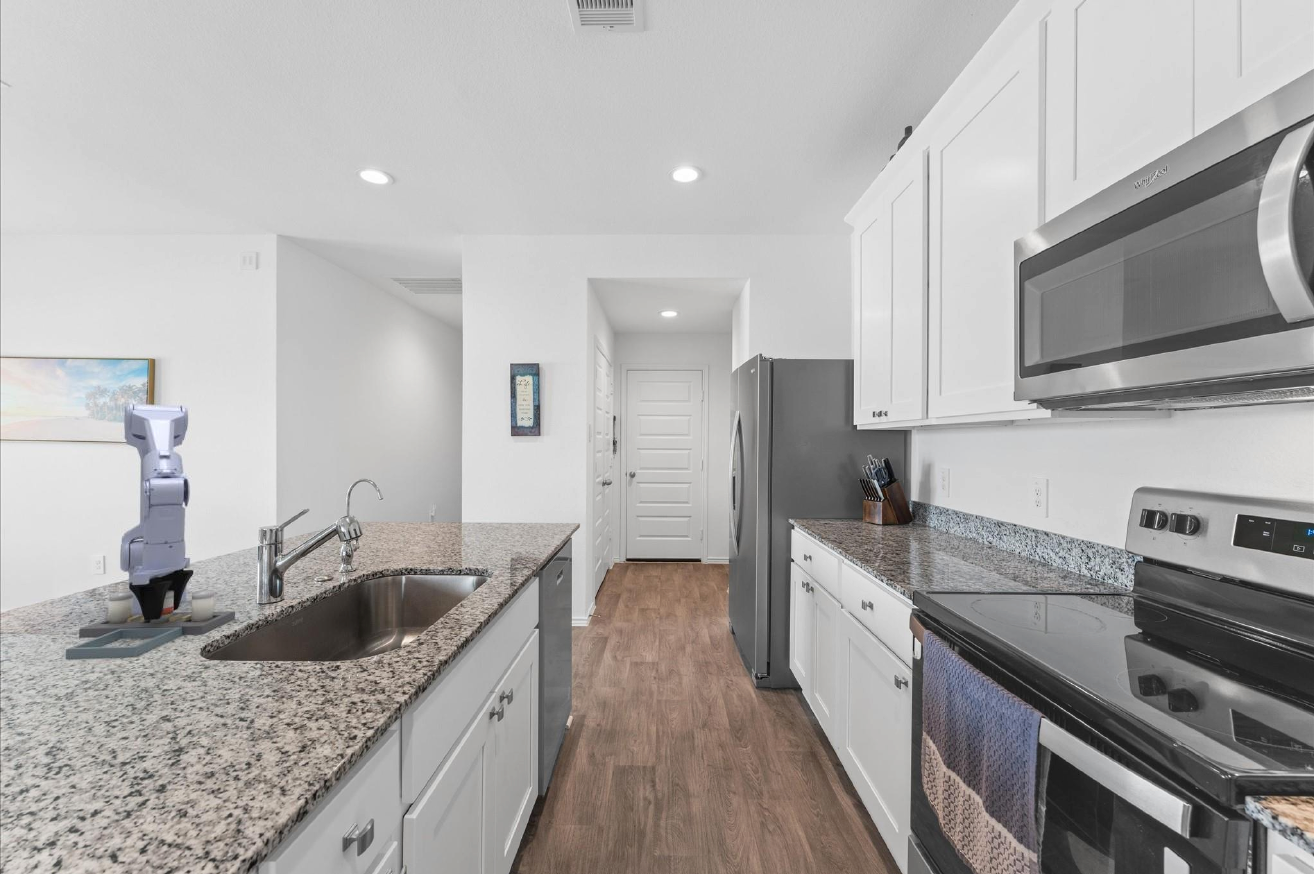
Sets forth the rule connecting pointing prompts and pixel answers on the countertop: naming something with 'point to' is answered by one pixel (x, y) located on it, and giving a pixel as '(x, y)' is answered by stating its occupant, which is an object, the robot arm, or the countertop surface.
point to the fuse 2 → (202, 606)
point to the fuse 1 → (120, 607)
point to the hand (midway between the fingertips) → (161, 614)
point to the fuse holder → (160, 624)
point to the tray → (96, 651)
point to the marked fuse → (166, 608)
